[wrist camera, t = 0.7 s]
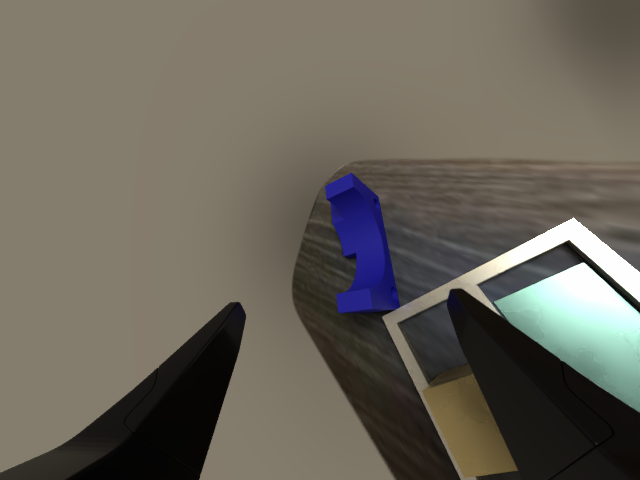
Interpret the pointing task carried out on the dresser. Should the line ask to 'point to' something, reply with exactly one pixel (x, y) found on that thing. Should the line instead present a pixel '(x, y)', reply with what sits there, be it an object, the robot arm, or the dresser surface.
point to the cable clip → (363, 247)
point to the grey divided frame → (554, 314)
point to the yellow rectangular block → (468, 423)
